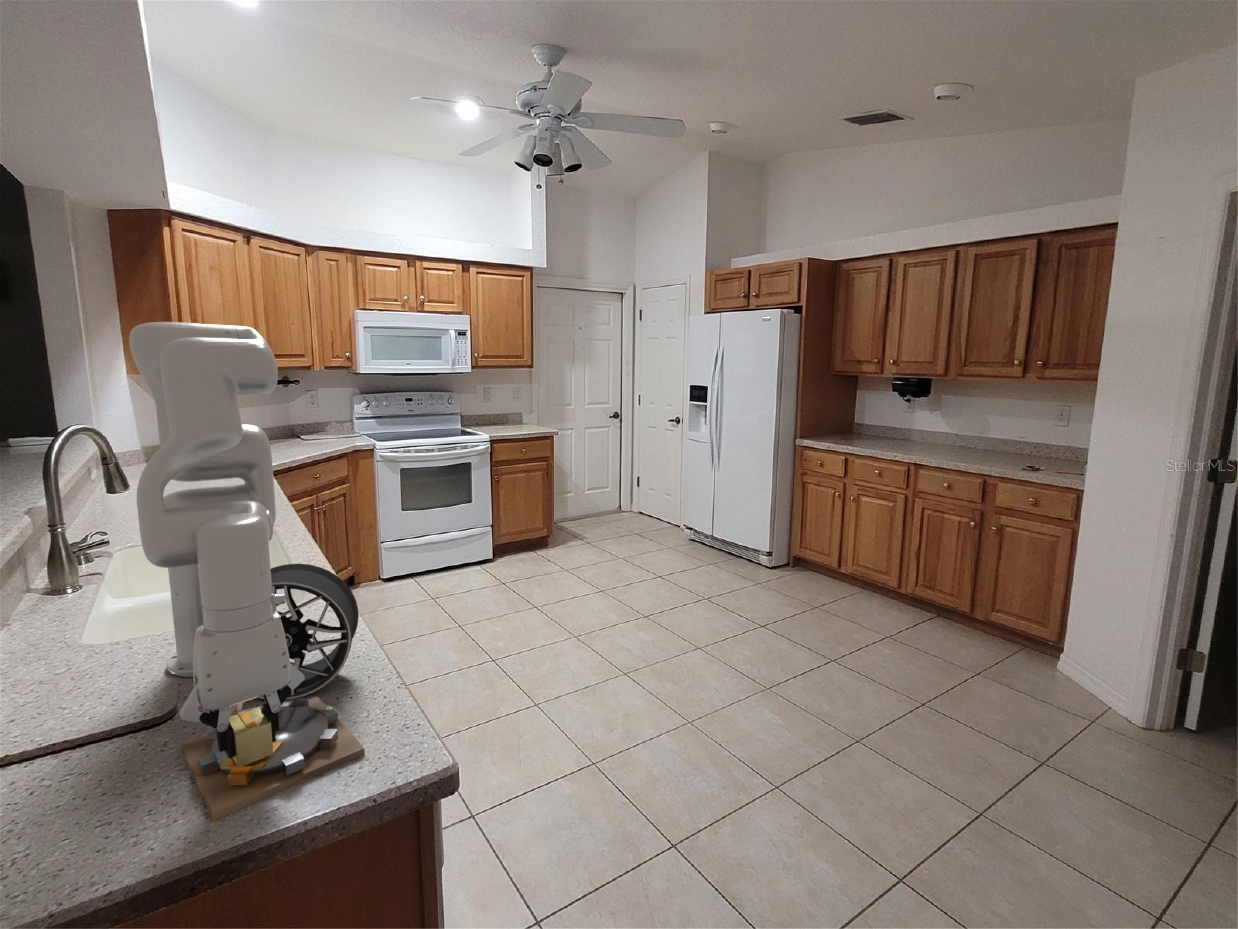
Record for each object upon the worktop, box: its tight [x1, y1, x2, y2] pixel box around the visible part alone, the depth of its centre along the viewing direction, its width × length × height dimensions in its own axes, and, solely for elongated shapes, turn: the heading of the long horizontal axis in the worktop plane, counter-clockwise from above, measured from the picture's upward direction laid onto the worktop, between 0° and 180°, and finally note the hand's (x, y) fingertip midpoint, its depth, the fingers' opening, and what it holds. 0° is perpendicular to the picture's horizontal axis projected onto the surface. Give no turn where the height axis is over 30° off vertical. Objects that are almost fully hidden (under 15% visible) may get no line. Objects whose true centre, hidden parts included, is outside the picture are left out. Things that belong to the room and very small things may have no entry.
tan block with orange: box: [229, 706, 273, 768], centre depth 78 cm, size 5×4×5 cm
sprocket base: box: [180, 696, 366, 821], centre depth 84 cm, size 18×18×1 cm
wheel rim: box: [256, 563, 360, 701], centre depth 100 cm, size 20×9×20 cm, turn 105°
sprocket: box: [197, 699, 339, 785], centre depth 83 cm, size 17×17×8 cm
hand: (249, 744), depth 79 cm, fingers closed on tan block with orange, 4 cm apart
